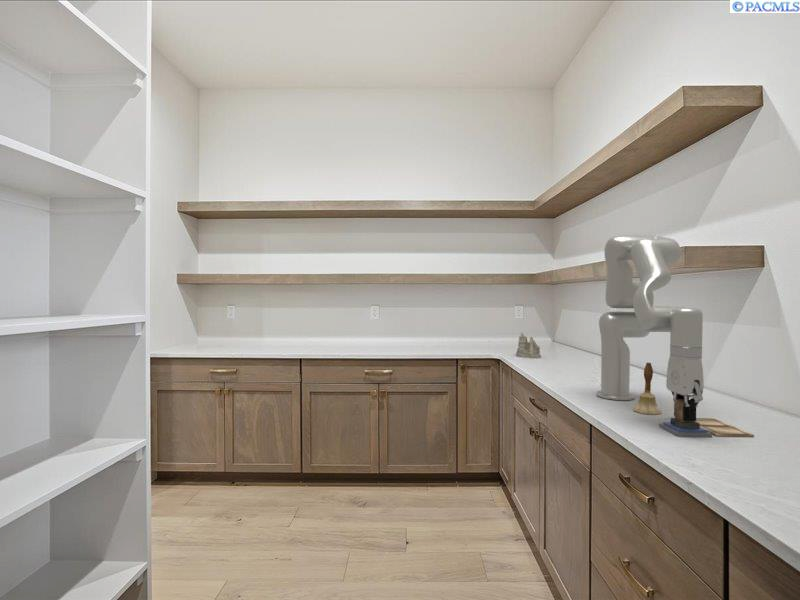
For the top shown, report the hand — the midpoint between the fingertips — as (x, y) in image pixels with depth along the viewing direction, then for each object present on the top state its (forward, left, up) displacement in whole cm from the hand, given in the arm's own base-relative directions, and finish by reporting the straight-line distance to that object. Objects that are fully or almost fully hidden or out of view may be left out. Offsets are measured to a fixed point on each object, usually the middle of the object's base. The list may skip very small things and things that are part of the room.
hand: (684, 418), depth 127 cm
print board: (-4, +11, -4) cm, 12 cm away
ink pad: (0, 0, -4) cm, 4 cm away
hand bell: (-22, +1, -4) cm, 22 cm away
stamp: (0, 0, -2) cm, 2 cm away
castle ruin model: (-154, -2, -4) cm, 154 cm away
